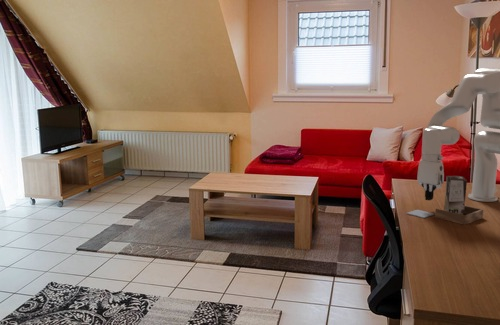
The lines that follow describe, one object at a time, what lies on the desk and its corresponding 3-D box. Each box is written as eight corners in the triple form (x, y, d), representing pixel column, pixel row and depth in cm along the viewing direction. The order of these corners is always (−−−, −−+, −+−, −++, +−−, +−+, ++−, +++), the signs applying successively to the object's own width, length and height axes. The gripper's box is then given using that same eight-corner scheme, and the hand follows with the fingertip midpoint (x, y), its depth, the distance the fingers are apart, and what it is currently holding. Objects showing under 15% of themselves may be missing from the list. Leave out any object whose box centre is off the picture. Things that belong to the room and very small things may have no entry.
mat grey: (417, 210, 208) (417, 209, 208) (434, 214, 202) (434, 213, 201) (406, 213, 203) (406, 212, 203) (423, 218, 197) (423, 217, 196)
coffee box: (464, 219, 195) (467, 180, 192) (446, 218, 196) (450, 179, 193) (459, 213, 203) (462, 175, 200) (443, 212, 205) (446, 175, 202)
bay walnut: (453, 211, 207) (453, 203, 206) (482, 218, 197) (483, 209, 197) (434, 217, 198) (435, 208, 197) (464, 224, 188) (465, 216, 188)
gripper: (452, 158, 201) (450, 201, 205) (420, 154, 212) (418, 194, 216) (442, 161, 196) (440, 205, 200) (410, 156, 208) (408, 197, 212)
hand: (428, 199), depth 208 cm, fingers closed
